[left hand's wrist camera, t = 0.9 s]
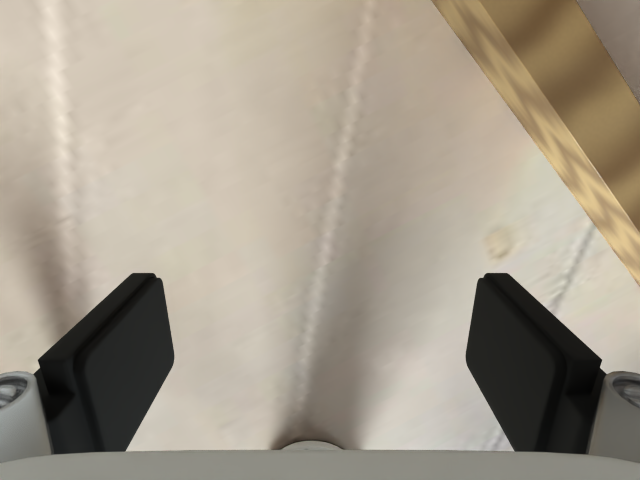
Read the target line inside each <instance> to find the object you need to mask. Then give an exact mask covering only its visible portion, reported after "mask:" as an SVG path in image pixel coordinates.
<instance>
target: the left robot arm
mask: <svg viewBox="0 0 640 480" xmlns="http://www.w3.org/2000/svg"><path fill="white" fill-rule="evenodd" d="M38 362H39V365H40V368H39V369H38V370H37V371H36V372H35V373H34V374H31V373H29V372H24V371H14V372H7V373H3V374H0V480H640V374H637V373H633V372H626V371H616V372H611V373H609V374H606V373H605V372H604V371H603V370H602V369H601V368H600V365H601V362H602V359H601V358H600V357H598V356H597V355H596V354H595V353H594V352H593V351H592V350H591V349H590V348H589V347H588V346H586V345H585V344H584V343H583V342H582V341H581V340H580V339H579V338H578V337H577V336H576V335H575V334H573V333H572V332H571V331H570V330H569V329H568V328H567V327H566V326H565V325H564V324H563V323H561V322H560V321H559V320H558V319H557V318H556V317H555V316H554V315H553V314H552V313H551V312H549V311H548V310H547V309H546V308H545V307H544V306H543V305H542V304H541V303H540V302H539V301H537V300H536V299H535V298H534V297H533V296H532V295H531V294H530V293H529V292H528V291H527V290H525V289H524V288H523V287H522V286H521V285H520V284H519V283H518V282H517V281H516V280H515V279H513V278H512V277H511V276H510V275H509V274H507V273H486V274H485V275H484V277H483V278H480V279H479V280H478V282H477V288H476V294H475V300H474V306H473V312H472V319H471V325H470V331H469V337H468V343H467V350H466V363H467V366H468V368H469V370H470V372H471V374H472V375H473V377H474V379H475V381H476V383H477V384H478V386H479V388H480V390H481V392H482V393H483V395H484V397H485V399H486V401H487V402H488V404H489V406H490V408H491V410H492V411H493V413H494V415H495V417H496V419H497V420H498V422H499V424H500V426H501V428H502V429H503V431H504V433H505V435H506V437H507V438H508V440H509V442H510V444H511V446H512V447H513V449H514V451H515V452H509V451H458V450H342V449H341V448H339V447H337V446H335V445H332V444H330V443H326V442H322V441H302V442H297V443H293V444H291V445H288V446H286V447H284V448H283V449H281V450H182V451H131V452H125V451H126V449H127V447H128V446H129V444H130V442H131V440H132V438H133V437H134V435H135V433H136V431H137V429H138V428H139V426H140V424H141V422H142V420H143V419H144V417H145V415H146V413H147V411H148V410H149V408H150V406H151V404H152V402H153V401H154V399H155V397H156V395H157V393H158V392H159V390H160V388H161V386H162V384H163V383H164V381H165V379H166V377H167V375H168V374H169V372H170V370H171V368H172V366H173V363H174V350H173V343H172V337H171V331H170V325H169V319H168V312H167V306H166V300H165V294H164V288H163V282H162V280H161V279H160V278H157V277H156V275H155V274H154V273H133V274H131V275H130V276H129V277H128V278H127V279H125V280H124V281H123V282H122V283H121V284H120V285H119V286H118V287H117V288H116V289H115V290H113V291H112V292H111V293H110V294H109V295H108V296H107V297H106V298H105V299H104V300H103V301H101V302H100V303H99V304H98V305H97V306H96V307H95V308H94V309H93V310H92V311H91V312H89V313H88V314H87V315H86V316H85V317H84V318H83V319H82V320H81V321H80V322H79V323H77V324H76V325H75V326H74V327H73V328H72V329H71V330H70V331H69V332H68V333H67V334H65V335H64V336H63V337H62V338H61V339H60V340H59V341H58V342H57V343H56V344H55V345H54V346H52V347H51V348H50V349H49V350H48V351H47V352H46V353H45V354H44V355H43V356H42V357H40V358H39V359H38Z"/></svg>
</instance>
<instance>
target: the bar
mask: <svg viewBox="0 0 640 480" xmlns="http://www.w3.org/2000/svg"><path fill="white" fill-rule="evenodd" d="M432 2H433V3H434V5H435V6H436V7H437V9H438V10H439V11H440V13H441V14H442V16H443V17H444V18H445V20H446V21H447V22H448V24H449V25H450V27H451V28H452V29H453V31H454V32H455V33H456V35H457V36H458V38H459V39H460V40H461V42H462V43H463V44H464V46H465V47H466V48H467V50H468V51H469V53H470V54H471V55H472V57H473V58H474V59H475V61H476V62H477V64H478V65H479V66H480V68H481V69H482V70H483V72H484V73H485V75H486V76H487V77H488V79H489V80H490V81H491V83H492V84H493V86H494V87H495V88H496V90H497V91H498V92H499V94H500V95H501V97H502V98H503V99H504V101H505V102H506V103H507V105H508V106H509V108H510V109H511V110H512V112H513V113H514V114H515V116H516V117H517V119H518V120H519V121H520V123H521V124H522V125H523V127H524V128H525V130H526V131H527V132H528V134H529V135H530V136H531V138H532V139H533V141H534V142H535V143H536V145H537V146H538V147H539V149H540V150H541V152H542V153H543V154H544V156H545V157H546V158H547V160H548V161H549V163H550V164H551V165H552V167H553V168H554V169H555V171H556V172H557V173H558V175H559V176H560V178H561V179H562V180H563V182H564V183H565V184H566V186H567V187H568V189H569V190H570V191H571V193H572V194H573V195H574V197H575V198H576V200H577V201H578V202H579V204H580V205H581V206H582V208H583V209H584V211H585V212H586V213H587V215H588V216H589V217H590V219H591V220H592V222H593V223H594V224H595V226H596V227H597V228H598V230H599V231H600V233H601V234H602V235H603V237H604V238H605V239H606V241H607V242H608V244H609V245H610V246H611V248H612V249H613V250H614V252H615V253H616V255H617V256H618V257H619V259H620V260H621V261H622V263H623V264H624V266H625V267H626V268H627V270H628V271H629V272H630V274H631V275H632V277H633V278H634V279H635V281H636V282H637V283H638V285H639V286H640V104H639V103H638V101H637V99H636V98H635V96H634V94H633V93H632V91H631V90H630V88H629V86H628V85H627V83H626V81H625V80H624V78H623V76H622V75H621V73H620V72H619V70H618V68H617V67H616V65H615V63H614V62H613V60H612V59H611V57H610V55H609V54H608V52H607V50H606V49H605V47H604V46H603V44H602V42H601V41H600V39H599V37H598V36H597V34H596V32H595V31H594V29H593V28H592V26H591V24H590V23H589V21H588V19H587V18H586V16H585V15H584V13H583V11H582V10H581V8H580V6H579V5H578V3H577V2H576V0H432Z"/></svg>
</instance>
